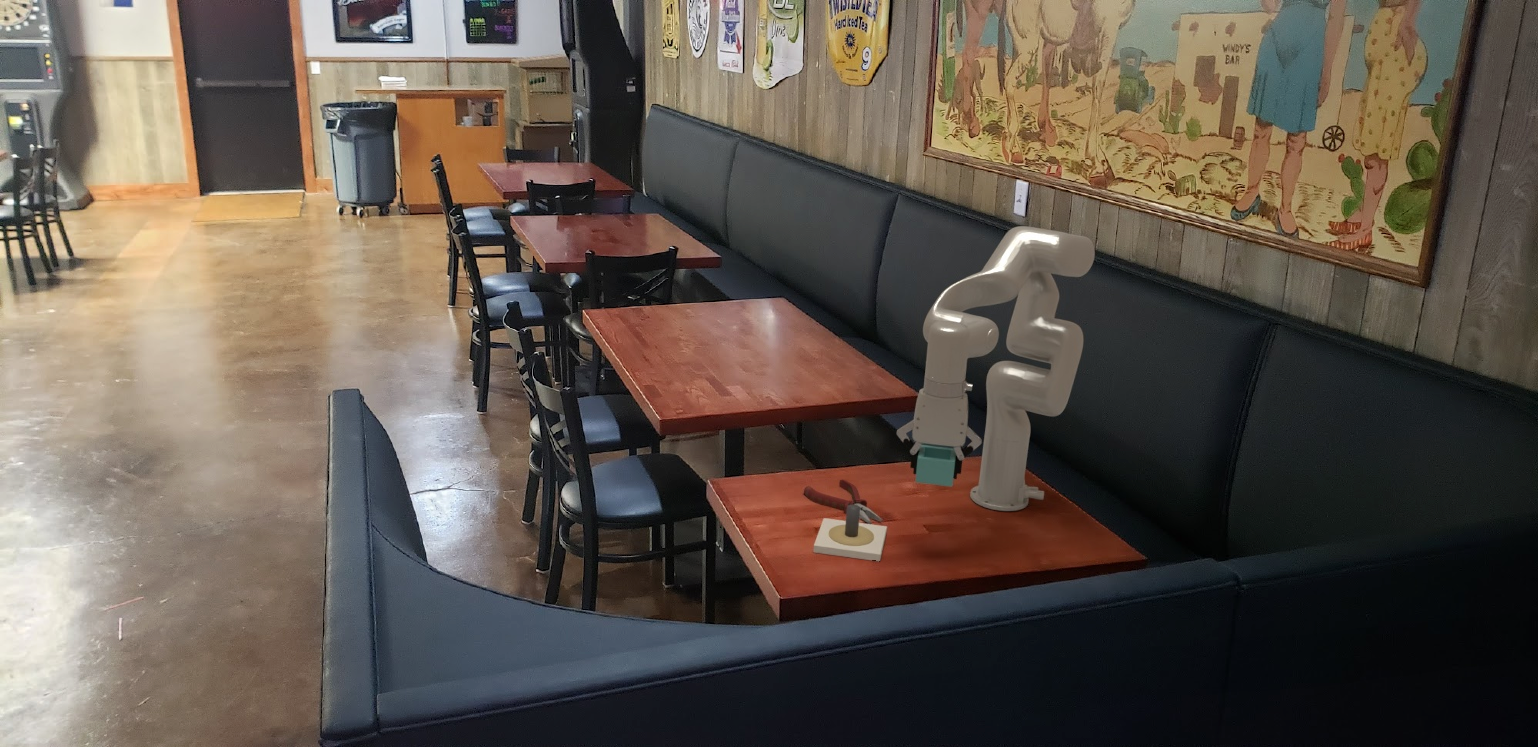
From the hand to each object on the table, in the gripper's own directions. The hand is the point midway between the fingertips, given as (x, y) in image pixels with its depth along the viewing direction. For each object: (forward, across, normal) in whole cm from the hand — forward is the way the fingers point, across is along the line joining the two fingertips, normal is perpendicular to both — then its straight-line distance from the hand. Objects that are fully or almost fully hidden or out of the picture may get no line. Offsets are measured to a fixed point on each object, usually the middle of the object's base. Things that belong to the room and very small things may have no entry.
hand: (935, 473), depth 218 cm
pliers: (+18, +20, -16) cm, 31 cm away
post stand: (+17, +15, 0) cm, 23 cm away
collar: (+1, 0, 0) cm, 1 cm away
